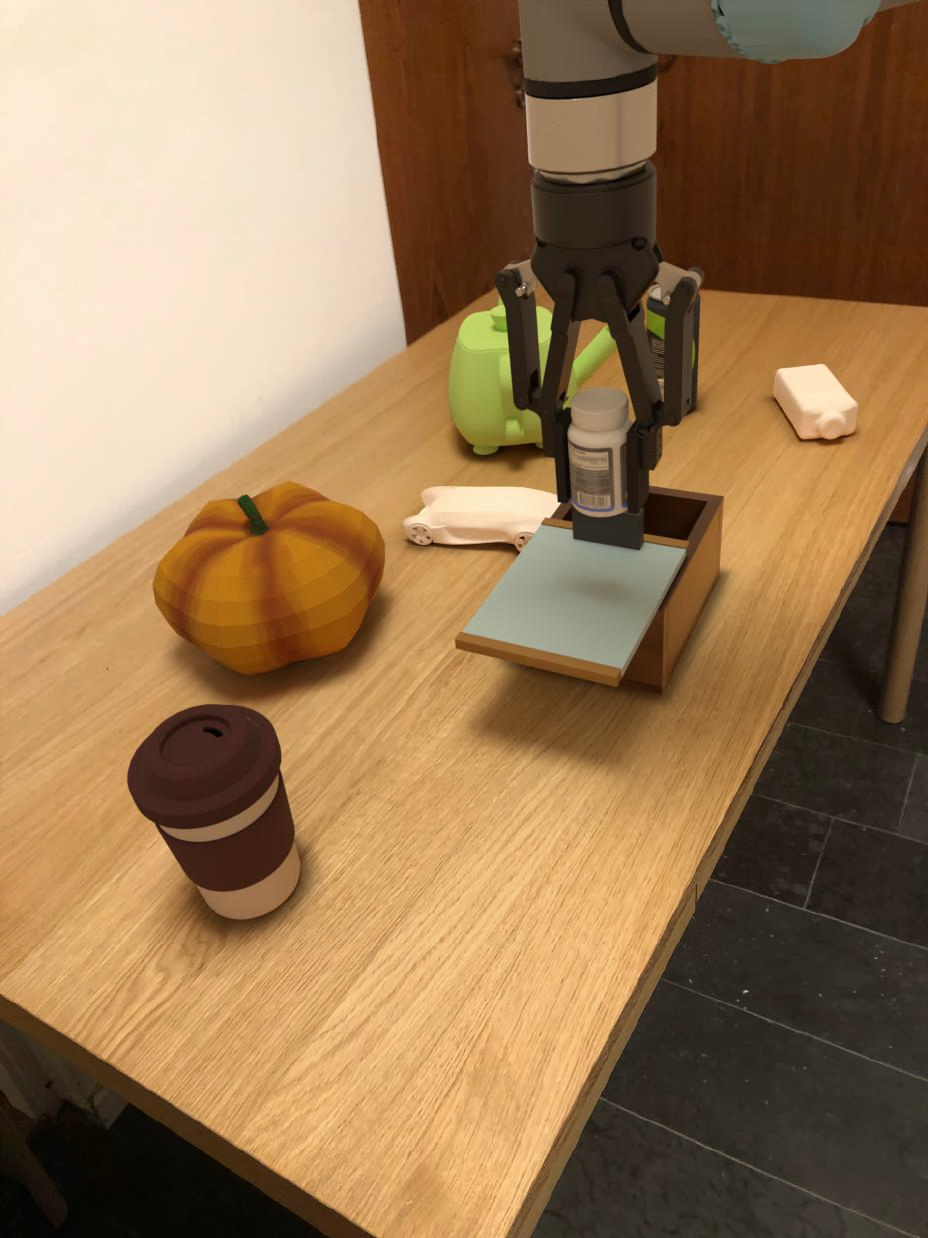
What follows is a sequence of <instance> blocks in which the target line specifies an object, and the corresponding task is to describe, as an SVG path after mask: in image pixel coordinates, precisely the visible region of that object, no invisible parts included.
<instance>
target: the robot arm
mask: <svg viewBox="0 0 928 1238" xmlns="http://www.w3.org/2000/svg"><path fill="white" fill-rule="evenodd" d="M920 1H922V0H517V3H518V15H519V30H520V41H521V55H522V68H523V77H524V78H523V85H524V98H525V117H526V134H527V135H526V136H527V155H528V163H529V165H531V167H532V168H533V169H535V170H537V171H536V172H535V173H534V174H533V176H532V178H531V180H530V193H531V194H530V195H531V207H532V221H533V222H532V223H533V232H534V236H535V246H534V249H533V252H532V254H531V257H530V258H529V259H526V260H524V261H521V260H520V259H519V260H518V259H514V260H512V261H510V262H509V263H508V264H507V265H506V266H504V268H502V269H501V270H500V271H499V272H498V273H497V274H496V275H495V277H494V285H495V287H496V290H497V293H498V296H499V295H500V297H501V300H502V302H503V304H504V307H505V312H506V324H507V335H508V346H509V357H510V368H511V379H512V390H513V402H514V405H515V407H516V408H517V409H519V410H522V411H523V410H526V409H528V410H530V411H532V412H534V413H536V414H537V415H538V416H539V418H540V420H541V430H542V443H543V448H542V452H543V454H544V456H545V458H550V459H554V468H555V469H554V470H555V483H556V485H555V486H556V495H557V502H559V503H565V504H567V503H568V501H569V500H570V499H571V484H570V467H569V453H568V438H567V432H568V428H569V425H570V424H571V422H572V417H571V407H566V408H565V409H564V410H563V405H564V404H565V402H566V401H567V400H568V398H569V396H567V391H568V386H569V381H570V376H571V371H572V366H573V361H574V360H575V357H576V350H577V345H578V342H579V336H580V332H581V331H580V330H581V326H582V322H584V321H588V320H594V321H597V322H600V323H603V324H607V326H608V327H609V331H610V335H611V337H612V339H614V340H615V341H616V345H617V352H618V356H619V359H620V364H621V367H622V371H623V375H624V379H625V382H626V386H627V390H628V394H629V398H630V402H631V406H632V409H633V413H634V417H635V420H634V421H633V422H632V423H633V424H632V426H631V427H630V429H629V430H628V432H627V488H628V513H632V514H638V513H639V511H640V510H641V508H642V506H643V505H644V503H645V501H646V500H647V498H648V496H649V486H650V471H653V472H654V471H655V469H656V468H657V466H658V465H659V463H660V461H661V459H662V457H663V446H664V445H663V441H664V438H663V437H664V435H663V433H664V432H663V431H664V430H663V429H664V427H666V426H669V427H671V428H672V427H673V428H674V427H677V426H680V424H681V422H682V421H683V419H684V417H685V416H686V415H687V413H688V412H687V411H688V409H689V407H690V405H691V386H692V353H693V321H694V303H695V301H696V298H697V296H698V293H699V294H700V291H701V288H702V286H703V283H704V281H705V272H704V270H703V269H702V268H701V267H698V266H693V267H690V268H688V269H687V270H685V269H683V268H680V267H678V266H676V265H674V264H671V263H669V262H666V261H665V259H664V255H663V252H662V250H661V248H660V246H659V243H658V240H657V185H658V184H657V181H658V179H657V177H658V176H657V175H658V174H657V173H658V172H657V171H658V170H657V167H656V166H655V164H654V163H653V162H652V161H651V160H650V158H652V156H653V155H654V154H655V153H656V152H657V131H658V129H657V128H658V125H657V124H658V62H659V55H670V56H671V55H673V56H674V55H675V56H691V57H707V58H708V57H709V58H724V59H725V58H726V59H742V60H743V59H745V60H751V61H755V60H757V61H758V62H759V63H760V64H773V65H774V64H775V65H776V64H777V65H778V64H780V63H782V62H785V61H788V60H807V59H808V60H813V59H825V58H829V57H832V56H835V55H837V54H839V53H842V52H843V51H845V50H846V49H848V48H849V47H850V46H851V45H852V44H854V43H855V42H856V40H857V38H858V37H859V34H860V32H861V30H862V28H863V27H865V26H866V25H868V24H869V23H870V22H871V21H872V19H873V17H874V16H875V14H876V13H880V12H883V11H886V10H889V9H892V8H897V7H900V6H905V5H908V4H911V3H917V2H920ZM537 281H538V282H539V284H540V285H541V286H542V288H543V290H544V291H545V292H546V293H547V295H548V296H549V298H550V299H551V300H552V301H553V303H554V304H553V310H552V315H553V316H552V321H551V327H550V330H551V331H552V334H551V339H550V345H549V351H548V356H547V362H546V367H545V373H544V378H543V384H541V370H540V355H539V341H538V326H537V312H536V306H537V300H536V295H535V290H536V289H537V287H538V286H537ZM654 282H655V283H656V284H659V286H660V288H661V300H662V302H663V304H665V305H668V308H667V311H666V316H665V325H664V401H663V398H662V394H661V390H660V386H659V382H658V378H657V374H656V370H655V365H654V361H653V357H652V353H651V349H650V345H649V341H648V337H647V327H646V325H645V324H646V323H645V319H646V314H645V313H646V312H645V308H644V304H643V299H642V298H643V297H644V296H645V295H646V293H647V291H649V290H650V289H651V287H652V285H653V284H654ZM566 396H567V398H566ZM686 412H687V413H686Z"/></svg>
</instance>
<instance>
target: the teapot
mask: <svg viewBox="0 0 928 1238" xmlns="http://www.w3.org/2000/svg"><path fill="white" fill-rule="evenodd" d="M536 312H537V326H538V341H539V355H540V370H541V384H543V378H544V373H545V367H546V362H547V356H548V351H549V345H550V339H551V334H552V331H551V330H550V327H551V321H552V316H553V313H552V312H551V311H550V310H549V309H547V308H545V307H544V306H540V305H539V306H538V305H536ZM616 351H618V349H617V345H616V341H615V340H614V339H612V337H611V335H610V331H609V327H608V325H605V326H604V327H603V328H602V329H601V330H600V332H598V333H597V335H596V336H595V337H594V338H593V339H592V340H591V341H590V342H589V344H588V345H587V346H586V347H585V348H584V349H583V350H582V351H581V353H580V354H579V355H577V357H575V358H574V361H573V366H572V371H571V376H570V381H569V386H568V391H567V396H569V398H568V400H567V401H566V402H565V404H564V405H563V410H564V409H565V408H566V407H571V400H572V398H573V397H574V396H575V395H576V394H577V393H579V389H580V388H581V386H582V385H584V384H585V383H586V381H588V380H589V379H590V377H592V376H593V374H594V373H595V372H596V371H598V369H599V368H600V367H601V366H602V365H603V364H604V363H605V362H606V361H607V360H608V359H609V358H610V357H611V356H612V355H613V354H614V353H615V352H616ZM447 387H448V388H447V389H448V393H447V394H448V395H447V397H448V408H449V413H450V416H451V419H452V421H453V424H454V425H455V427H456V429H457V430H458V432H459V433H460V435H461V436H462V437H463V438H464V439H465V440H466V442H468V443H469V444H470V445H472V446H473V448H472V451H473V453H475V454H477V455H482V456H484V455H485V456H486V455H491V454H493V453H496V452H497V451H498V450H499V448H500V447H501V446H502V447H503V446H504V447H505V446H514V445H515V446H517V445H523V444H524V445H525V444H533V443H534V444H535V446H536V447H537V448H539V449H543V443H542V430H541V420H540V418H539V416H538V415H537V414H536V413H534V412H532V411H530V410H528V409H526V410H523V411H522V410H519V409H517V408H516V407H515V405H514V402H513V390H512V379H511V368H510V357H509V346H508V335H507V324H506V312H505V307H504V304H503V302H502V300H501V297H500V295H499V294H498V304H497V306H495V307H493V308H491V309H490V310H485V311H484V310H483V311H477V312H473V313H471V314H470V315H468V316H466V317H465V319H464V320H462V323H461V325H460V327H459V330H458V333H457V337H456V340H455V344H454V348H453V351H452V356H451V361H450V365H449V373H448V385H447ZM567 396H566V398H567Z"/></svg>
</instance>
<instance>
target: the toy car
mask: <svg viewBox="0 0 928 1238" xmlns="http://www.w3.org/2000/svg"><path fill="white" fill-rule="evenodd" d="M420 496H421V499H422V502H423V504H424V506H425V507H424V508H423V509H421V510H420V512H418V514H415V515H411V516H408V517H406V518H405V519H403V520H402V521H401V524H400V525H401V529H402V531H403V532H404V534H405V535H406V536H407V538H408V540H409V541H411V542H412V541H413V542H414V543H415V544H417V545H420V546H428V545H429V544H430V545H431V543H432V542H433V543H435V544H443V545H474V544H475V545H477V544H489V543H490V544H491V543H505V544H510V545H511V544H512V545H514V546H515V548H516V549H517V551H518V552H520V553H521V551H522V550H523V549H524V547H525V546H526V544H527V543H528V542H529V540H530V539H531V538H532V536H533V535H534V534H535V532H536V531H537V530H538V528H539V527H540V526H541V522H542V521H543V520H544V518H550V517H551V516H552V515H553V513H554V512H555V511H556V509H557V508H558V506H559V505H560V504H561V503H559V502H557V494H555V493H552V492H549V491H545V490H540V489H535V488H530V487H522V486H454V485H446V486H445V485H440V486H438V485H437V486H431V487H428V488H425V489H423V490H422V492H421V493H420Z"/></svg>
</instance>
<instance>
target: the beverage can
mask: <svg viewBox="0 0 928 1238" xmlns="http://www.w3.org/2000/svg"><path fill="white" fill-rule="evenodd" d="M648 295H649V296H648V297H647V299H646V333H647V337H648V341H649V345H650V349H651V353H652V357H653V361H654V365H655V370H656V374H657V378H658V382H659V386H660V390H661V394H662V398H663V401H664V325H665V316H666V311H667V308H668V305H665V304H663V302H662V300H661V288H660V286H659V284H658V283H656V284H655V285H653V286H651V287H650V288H649V289H648ZM701 300H702V299H701V294H700V292H699V293H698V296H697V298H696V301H695V303H694V321H693V353H692V386H691V405H690V407H689V409H688V411H687V412H686V414H687V413H689V412H690V411H691V410H692V409H693V408H694V407H695V406H696V404H697V402H698V382H699V381H698V379H699V378H698V377H699V352H700V326H701V325H700V324H701Z"/></svg>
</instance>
